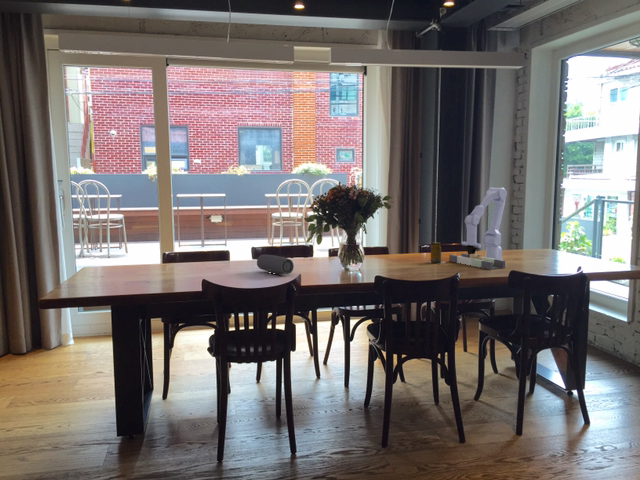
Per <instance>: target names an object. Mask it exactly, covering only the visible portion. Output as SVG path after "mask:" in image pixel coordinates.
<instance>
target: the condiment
mask: <svg viewBox="0 0 640 480" xmlns="http://www.w3.org/2000/svg"><path fill="white" fill-rule="evenodd" d="M428 263H430V264H438V265H441V264H446V263H447V262H446V261H445V262H444V261H442V247H441V242H437V241H434V242H431V247H430V261H428Z"/></svg>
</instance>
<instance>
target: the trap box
mask: <svg viewBox="0 0 640 480" xmlns="http://www.w3.org/2000/svg"><path fill="white" fill-rule="evenodd" d="M448 257H449V259H448V261H449V262H451V263H455V262H456V263H457V264H460V263H461V264H462V265H465V264H466V266H470V265H471V267H475V266H476V267H477V268H480V267H481V269H485V268H486V270H491V271H492V270H494V269H493V266H498V267H503V268H502V269H505V268H506V260H504V259H502V260H498V259H493V258H487V257H485V256H482V260H478V259H473V258H469V255H468V253H463V252H462V253H461V255H456V254H449V256H448ZM476 267H475V268H476Z"/></svg>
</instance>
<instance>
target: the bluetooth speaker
mask: <svg viewBox="0 0 640 480" xmlns="http://www.w3.org/2000/svg"><path fill="white" fill-rule="evenodd" d="M256 266H257V268H258V269H261V270H263V271H266V272H267V273H268V272H271V273H275V274H282V275H289V274H291V273H292V272H293V271H294V262H293V261H292V260H291V259H290V258H287V257H284V256H279V255H273V254H260V255H259V256H258V257H257V260H256Z"/></svg>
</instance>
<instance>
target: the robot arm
mask: <svg viewBox="0 0 640 480" xmlns="http://www.w3.org/2000/svg"><path fill="white" fill-rule="evenodd" d="M485 193H486V194H485V196H484V198H483V199H482V201H481V203H480V204H478V205H475V206H474V209H473V210H472V212H471V213H470V214H468V215H467V216H465V219H464V224H465V227H466V241H461V246H465V250H466V252H467V254H468V255H469V258H470V254H475V253H476V251H477V249H478V248H479V249H480V248H482V246H483V245H482V244H481V243H478V242H477V241H478V240H477V235H478V225H479V223H480V220H481V217H482V216H483V214H484V213H485V212H486V210H485V209H486V208H487V207H488V206H489V204H491V203H492V202H493V203H494V209H493V212H492V216H491V222H490V225H489V229H488V230H487V231H485V233H484V236H483V237H482V242H483V244H484V247H485V253H484V254H485V256H484V257H487V258H493V259H498V260H503V250H502V249H503V248H502V247H501V246H500V245H501V243H502V233H500V227H501V223H502V218H503V214H504V209H505V205H506V198H507V196H508V192H507V190H506V189H505V188H504V187H489V188H488V190H487V191H486V192H485Z"/></svg>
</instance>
